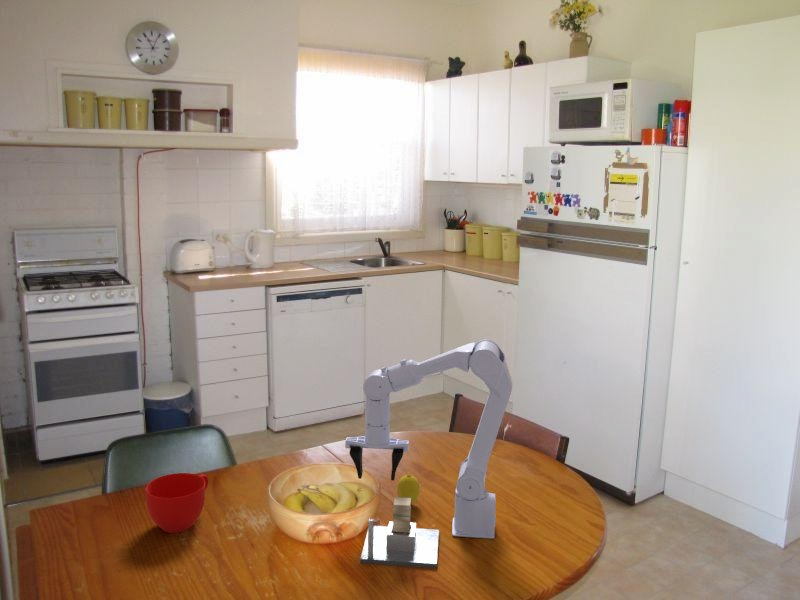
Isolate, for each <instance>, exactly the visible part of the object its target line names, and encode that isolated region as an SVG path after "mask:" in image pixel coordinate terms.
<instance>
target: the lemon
mask: <svg viewBox="0 0 800 600" xmlns="http://www.w3.org/2000/svg"><path fill="white" fill-rule="evenodd" d="M420 488H421V487H420V483H419V480H418V478H417V477H415V475H412V474H410V473H407V474H405V475H402V477H400V479H399V480H398V483H397V486H396V493H397V497H402V498H411V504H413V503H415V502H416V501H417V500H418V498H419V496H420V491H421V489H420Z"/></svg>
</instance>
